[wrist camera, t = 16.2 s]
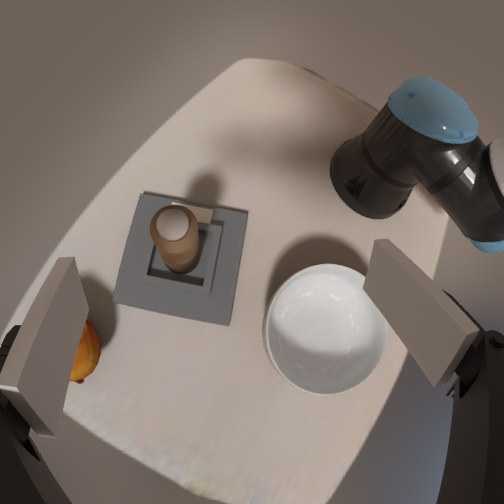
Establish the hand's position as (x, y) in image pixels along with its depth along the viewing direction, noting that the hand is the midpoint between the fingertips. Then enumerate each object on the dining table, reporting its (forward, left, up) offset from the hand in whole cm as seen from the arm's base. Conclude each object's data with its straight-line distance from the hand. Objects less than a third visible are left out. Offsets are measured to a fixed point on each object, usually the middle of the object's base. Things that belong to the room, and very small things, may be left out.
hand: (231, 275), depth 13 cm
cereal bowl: (-15, -1, -30) cm, 33 cm away
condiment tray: (+5, -8, -29) cm, 31 cm away
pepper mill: (+5, -8, -28) cm, 30 cm away
